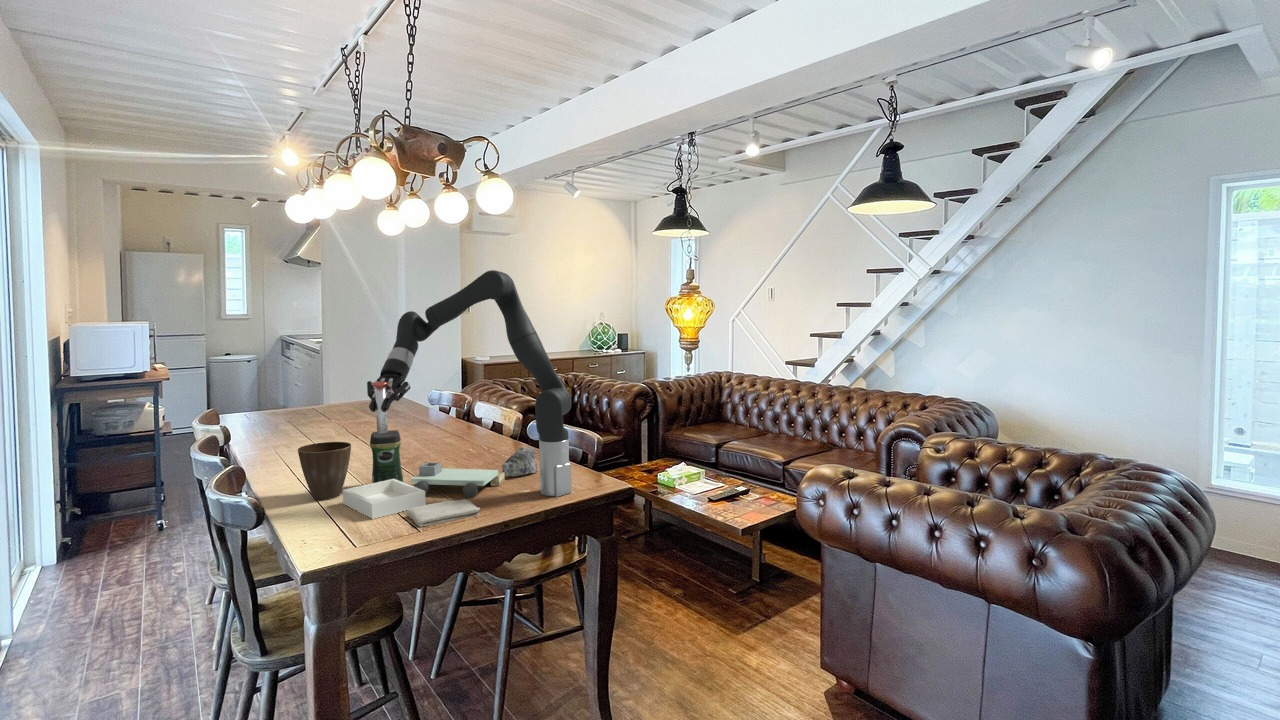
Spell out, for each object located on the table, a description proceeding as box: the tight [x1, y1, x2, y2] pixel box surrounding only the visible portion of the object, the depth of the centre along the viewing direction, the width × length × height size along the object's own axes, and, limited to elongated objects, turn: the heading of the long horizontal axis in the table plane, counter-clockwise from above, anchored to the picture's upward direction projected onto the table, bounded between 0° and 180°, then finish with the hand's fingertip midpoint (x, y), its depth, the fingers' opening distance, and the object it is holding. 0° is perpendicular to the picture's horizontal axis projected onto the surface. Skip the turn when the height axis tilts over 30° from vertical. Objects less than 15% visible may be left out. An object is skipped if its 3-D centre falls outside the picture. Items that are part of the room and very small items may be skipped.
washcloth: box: [406, 498, 481, 528], centre depth 174 cm, size 12×18×3 cm, turn 126°
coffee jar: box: [369, 429, 404, 484], centre depth 203 cm, size 10×8×19 cm
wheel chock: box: [490, 471, 506, 487], centre depth 205 cm, size 3×5×3 cm, turn 173°
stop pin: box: [372, 381, 389, 433], centre depth 182 cm, size 4×4×15 cm
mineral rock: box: [501, 446, 538, 477], centre depth 216 cm, size 13×11×10 cm
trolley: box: [410, 461, 499, 499], centre depth 199 cm, size 24×16×8 cm, turn 83°
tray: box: [342, 479, 427, 520], centre depth 184 cm, size 20×16×4 cm
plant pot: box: [297, 441, 352, 500], centre depth 192 cm, size 15×15×16 cm
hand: (377, 410), depth 180 cm, fingers closed on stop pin, 3 cm apart
